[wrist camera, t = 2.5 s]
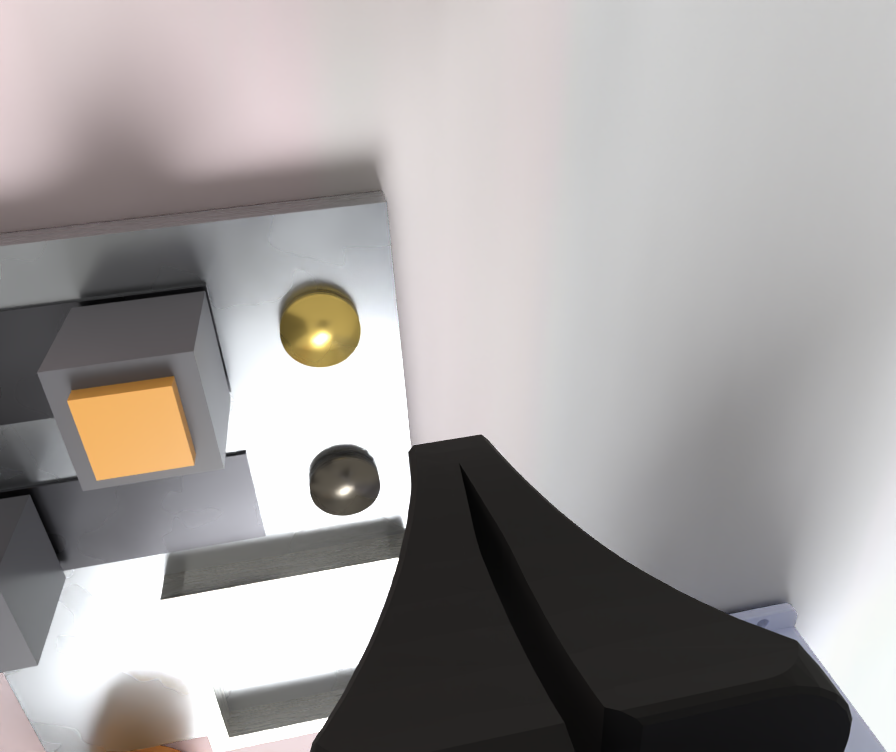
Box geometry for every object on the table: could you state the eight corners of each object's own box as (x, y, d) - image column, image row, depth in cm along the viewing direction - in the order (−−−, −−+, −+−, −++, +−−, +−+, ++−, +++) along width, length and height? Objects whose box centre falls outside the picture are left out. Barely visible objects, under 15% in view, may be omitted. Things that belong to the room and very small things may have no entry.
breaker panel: (382, 191, 19) (391, 215, 17) (430, 668, 28) (439, 713, 27) (-194, 255, 17) (-242, 289, 16) (60, 742, 26) (46, 795, 25)
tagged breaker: (204, 290, 18) (192, 360, 15) (230, 398, 20) (223, 479, 17) (71, 308, 18) (31, 383, 15) (108, 416, 19) (79, 503, 16)
